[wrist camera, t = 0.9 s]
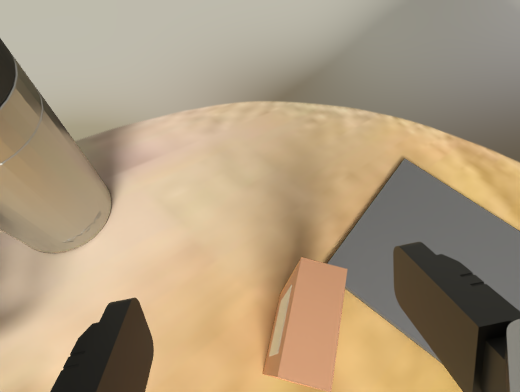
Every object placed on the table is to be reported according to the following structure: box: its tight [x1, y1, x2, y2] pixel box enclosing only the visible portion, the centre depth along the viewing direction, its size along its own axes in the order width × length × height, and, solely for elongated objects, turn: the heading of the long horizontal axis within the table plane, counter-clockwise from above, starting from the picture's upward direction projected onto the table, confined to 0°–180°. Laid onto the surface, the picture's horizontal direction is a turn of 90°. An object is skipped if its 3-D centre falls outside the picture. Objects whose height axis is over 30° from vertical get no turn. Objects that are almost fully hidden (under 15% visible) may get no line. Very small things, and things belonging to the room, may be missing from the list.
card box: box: [263, 257, 347, 392], centre depth 25 cm, size 3×7×12 cm, turn 166°
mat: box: [327, 159, 520, 363], centre depth 34 cm, size 21×17×1 cm
